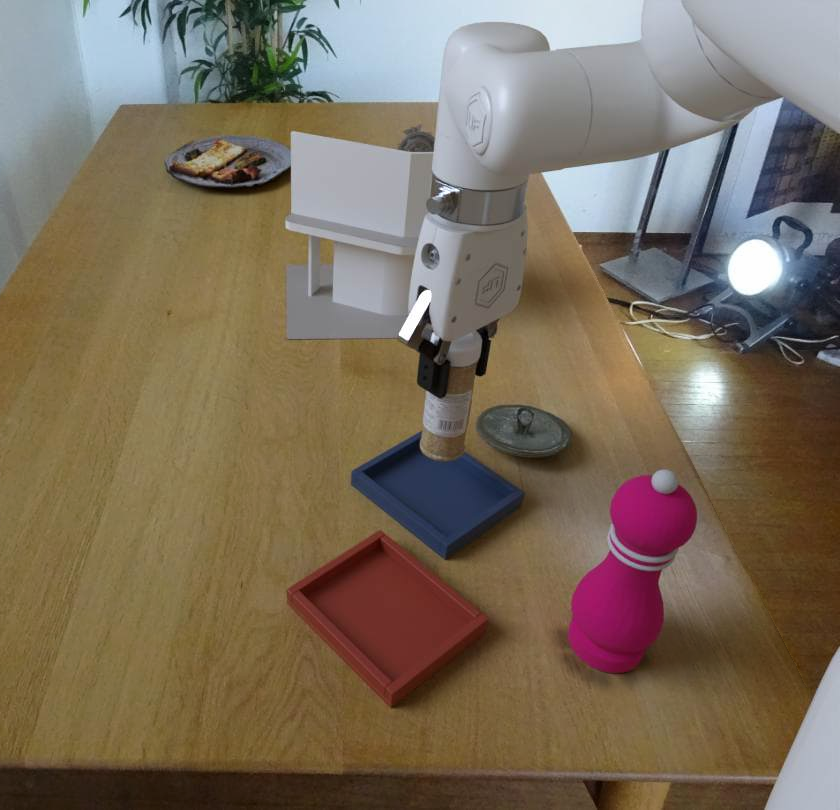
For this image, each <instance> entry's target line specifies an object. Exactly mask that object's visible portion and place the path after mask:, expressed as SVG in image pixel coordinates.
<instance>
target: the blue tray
mask: <svg viewBox="0 0 840 810" xmlns="http://www.w3.org/2000/svg"><path fill="white" fill-rule="evenodd" d="M421 438H422V430H421V431H418V432H417V433H415V434H413V435H412V436H410V437H408V438H406V439H404V440H403V441H401V442H400V443H398V444H396V445H394V446H393V447H391V448H389V449H387V450H385V451H383V452H382V453H380V454H379V455H377V456H375V457H373V458H372V459H370V460H368V461H366V462H364V463H363V464H361V465H359V466H358V467H356V468H354V469H352V470H351V471H350V472H351V473H350V485H351V486H352V487H353V488H354V489H356V490H357V491H358V492H359V493H360V494H362V496H364V497H366V499H368V500H369V501H370V502H372V503H373V504H374V505H375V506H377V507H378V508H379V509H381V510H382V511H383V512H384V513H386V515H388V516H389V517H390V518H392V519H393V520H394V521H395V522H397V523H398V524H399V525H400V526H402V527H403V528H404V529H405V530H407V531H408V532H409V533H411V534H412V535H413V536H414V537H415V538H417V539H418V540H419V541H421V542H422V543H423V544H425V545H426V546H427V547H428V548H429V549H430V550H432V551H433V552H434V553H435V554H437V555H438V556H440V558H442V559H443V560H447V559H449V558H450V557H451V556H453V555H454V554H456V553H457V552H459V551H460V550H461V549H463V548H464V547H466V546H467V545H469V544H470V543H471V542H473V541H474V540H476V539H478V537H480V536H481V535H483V534H484V533H486V532H487V531H489V530H490V529H492V528H493V527H495V526H496V525H497V524H498V523H500V522H501V521H503V520H504V519H506V518H507V517H508V516H510V515H512V514H513V513H514V512H515V511H517V510H518V509H520V508H522V507H523V505H524V504H523V503H524V500H525V495H526V491H524V490H523V489H521V488H520V487H518V486H517V485H515V484H514V483H512V482H510V481H509V480H507V478H505V477H504V476H502V475H500V474H499V473H498V472H496V471H494V470H492V468H490V467H488V466H487V465H485V464H484V463H482V462H481V461H479V460H478V459H477V458H475V457H474V456H472V455H471V454H469V453H468V452H466V450H465V451H464V453H463V455H462V456H461V457H460V458H458V459H456V460H454V461H447V462H442V461H435V460H433V459H431V458H429V457H427V456H426V455H425V454H424V453H422V451H421V449H420V440H421Z"/></svg>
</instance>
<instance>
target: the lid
mask: <svg viewBox="0 0 840 810" xmlns="http://www.w3.org/2000/svg"><path fill="white" fill-rule="evenodd" d="M475 428H476V432H477V434H478V436H479V437H480V438H481V439H482V440H483V442H485V443H486V444H487V445H489V446H491V447H492V448H494V449H496V450H498V451H499V452H502V453H505V454H507V455H512V456H514V457H515V456H516V457H521V458H546V457H549V456H550V457H551V456H554V455H557V454H559V453H561V452H563V451H564V450H566V449H567V448H568V447H569V446H570V445H571V443H572V440H573V431H572V429H571V427H570V426H569V425H568V423H566V422H565V421H564V420H562V419H561V417H559V416H556V415H555V414H553V413H551V412H549V411H547V410H543V409H540V408H537V407H534V406H531V405H524V404H498V405H495V406H492V407H491V406H490V407H489V408H486V409H485V410H484V411H482V412H481V413H480V414H479V415H478V416H477V418H476V421H475Z"/></svg>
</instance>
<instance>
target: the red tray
mask: <svg viewBox="0 0 840 810" xmlns="http://www.w3.org/2000/svg"><path fill="white" fill-rule="evenodd" d="M286 604H287V605H288V606H289V607H290V608H291V609H292V610H293V611H294V613H296V614H297V615H298V616H299V617H300V618H301V619H302V620H303V621H304V622H305V623H306V624H307V625H308V626H309V628H311V629H312V630H313V631H314V632H315V634H316V635H318V636H319V637H320V639H322V641H324V642H325V644H326V645H328V646H329V647H330V648H331V649H332V650H333V651H334V653H336V655H337V656H339V657H340V658H341V660H342V661H344V662H345V664H346V665H348V666H349V668H351V670H353V671H354V672H355V674H356V675H357V676H359V678H361V680H362V681H364V683H365V684H366V685H367V686H368V687H369V688H370V689H371V690H372V691H373V692H374V693H375V694H376V695H377V696H378V697H379V698H380V699H381V700H382V701H383V702H384V703H385V704H386V705H387V706H388V707H389V708H391V709H392V708H394V706H395V705H397V704H398V703H399V702H400V701H402V700H403V699H404V698H405V697H407V696H408V695H409V694H411V693H412V692H413V691H414V690H415V689H417V688H418V687H419V686H421V685H422V684H423V683H424V682H426V681H427V680H428V679H429V678H431V677H432V676H433V675H434V674H436V673H437V672H438V671H439V670H441V669H442V668H443V667H444V666H446V665H447V664H448V663H450V662H451V661H452V660H454V659H455V658H456V657H457V656H459V654H461V653H462V652H463V651H465V650H466V649H467V648H468V647H469V646H471V645H472V644H473V643H475V641H477V640H478V639H479V638H481V637H482V636H484V635H485V634H486V633H487V628H488V623H489V617H487V616H486V615H485V614H484V613H483V612H481V611H480V610H479V609H477V607H475V606H474V605H473V604H471V603H470V602H469V601H468V600H467V599H465V598H464V597H463V596H462V595H461V594H459V593H458V592H457V591H456V590H454V589H453V588H452V587H451V586H449V584H447V583H446V582H445V581H443V580H442V579H441V578H440V577H439V576H437V575H436V574H435V573H434V572H433V571H432V570H430V569H429V568H428V567H426V566H425V565H424V564H423V563H422V562H421V561H419V560H418V559H417V558H416V557H414V556H413V554H411V553H409V551H407V550H406V549H404V548H403V547H402V546H401V545H400V544H399V543H398V542H396V541H395V540H393V539H392V538H391V537H390V536H389V535H388V534H386V532H384V531H383V530H382V529H379V530H377V531H375V532H374V533H373V534H371V535H369V536H367V537H366V538H365V539H363V540H361V541H360V542H358V543H357V544H355V545H354V546H352V547H350V548H349V549H347V550H346V551H344V552H342V553H341V554H340V555H338V556H336V557H335V558H333V559H332V560H330V561H329V562H327V563H326V564H324V565H322V566H321V567H319V568H318V569H316V570H315V571H313V572H311V573H309V574H308V575H307V576H305V577H304V578H302V579H300V580H299V581H297V582H295V583H294V584H293V585H291V586H289V587H287V589H286Z"/></svg>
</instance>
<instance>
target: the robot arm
mask: <svg viewBox="0 0 840 810" xmlns="http://www.w3.org/2000/svg"><path fill="white" fill-rule="evenodd" d="M640 18H641V19H640V34H641V39H638V40H635V41H630V42H624V43H613V44H612V43H611V44H597V45H587V46H578V47H567V48H557V49H554V50H551V47H550V42H549V41H548V38H547V36H546V35H545V34H544V33H542V31H540V30H538V29H536V28H534V27H531V26H529V25H525V24H520V23H516V22H515V23H514V22H506V21H483V22H481V21H480V22H473V23H470V24H467V25H462V26H460V27H459V28H457V29H456V30H454V31H453V32H452V33H451V34H450V36H449V37H448V38H447V41H446V43H445V45H444V49H443V55H442V62H441V63H442V64H441V74H440V84H439V95H438V104H437V114H436V115H437V116H436V124H435V134H434V138H435V143H434V152H433V162H432V172H431V182H430V192H429V199H428V200H427V202H426V207H427V210H428V212H429V213H428V214H426V215H425V218H424V221H423V225H422V228H421V232H420V236H419V240H418V244H417V249H416V253H415V259H414V264H413V269H412V276H411V283H410V291H409V304H408V312H409V316H408V318H407V320H406V322H405V323H404V325H403V327H402V329H401V331H400V332H399V334H398V337H397V338H396V339H397V341H398V342H399V343H401V344H402V345H405V346H406V347H408V348H409V349H412V350H414V351H415V352H417V353H419V358H418V366H417V374H416V375H417V376H416V384H417V385H418V386H419V387H420V388H422V390H424V391H425V392H426V391H428V392H430V393H431V394H433V395H434V396H436V397H437V398H439V399H441V398H443V397H445V396H446V394H447V387H448V380H449V372H450V365H451V362H450V361H449V360H447V359H446V358H447V355H448V352H449V348H450V345H451V342H452V341H453V340H456V339H459V338H461V337H463V336H465V335H467V334H469V333H471V332H473V331H477V332H478V333H479V334H480V336H481V338H482V347H481V354H480V358H479V360H478V363H477V366H476V373H475V377H480V378H481V377H483V376H485V375H486V373H487V370H488V369H487V368H488V363H489V362H488V361H489V356H490V352H491V351H490V350H491V345H492V339H493V338H495V336H496V334H497V332H498V322H499V321H500V319H501V318H503V317H504V316H506V315H508V314H509V313H511V312H513V310H514V309H516V307H517V306H518V304H519V301H520V297H521V294H522V287H523V282H524V281H523V280H524V274H525V266H526V256H527V247H528V231H529V230H528V228H529V227H528V213H527V212H528V210H527V209H528V208H527V206H526V204H525V202H526V195H527V192H528V191H527V190H528V185H529V178H530V175H535V174H543V173H549V172H556V171H562V170H564V169H572V168H578V167H587V166H594V165H600V164H609V163H616V162H625V161H630V160H635V159H641V158H645V157H647V156H651V155H655V154H659V153H661V152H664V151H668V150H670V149H674V148H676V147H680V146H682V145H686V144H688V143H691V142H694V141H697V140H700V139H703V138H706V137H709V136H711V135H714V134H718V133H719V132H722V131H724V130H728V129H729V128H732V127H733V126H735V125H737V124H738V123H740V122H741V121H743V119H744V118H746V117H747V116H748V115H749V114H751V113H752V112H753V111H754V110H755V108H758V107H761V106H763V105H766V104H768V103H772V102H774V101H777V100H780V99H782V98H784V99H785V100H787V101H788V102H790V103H792V104H793V105H794V106H796V107H797V108H799V109H800V110H802V111H804V112H805V113H806V114H808V115H809V116H811V117H813V118H814V119H815V120H817V121H819V122H820V123H821V124H823V125H824V126H826V127H828V128H830V129H831V130H833V131H834V132H835V133H837V134H838V135H840V0H643V4H642V11H641V17H640ZM433 332H434V333H435V335H436V336H438V337H439V341H438V344H437V346H436V345H434V344H433V343H432V342H431V336H432V333H433ZM794 738H795V739H794V740H793V742H792V745H791V747H790V749H789V751H788V754H787V756H786V758H785V760H784V762H783V765H782V767H781V770H780V772H779V774H778V776H777V778H776V780H775V783H774V785H773V788H772V790H771V792H770V795H769V797H768V800H767V801H766V804H765V807H764V810H840V646H839V647H838V648H837V650H836V652H835V653H834V654H833V656H832V658H831V660H830V662H829V664H828V666H827V668H826V670H825V672H824V674H823V676H822V678H821V680H820V682H819V685H818V687H817V689H816V691H815V693H814V696H813V698H812V700H811V701H810V704H809V707H808V708H807V711H806V714H805V716H804V717H803V720H802V723H801V724H800V727H799V729H798V732H797V734H796V736H795V737H794Z"/></svg>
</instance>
